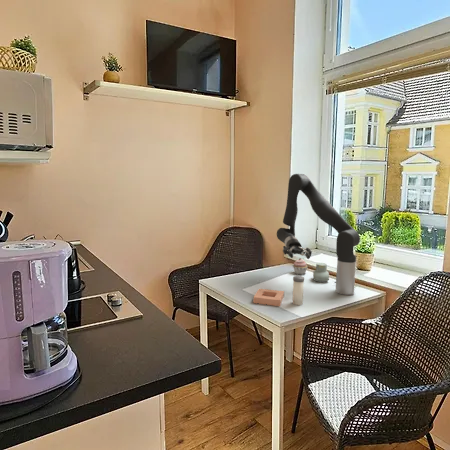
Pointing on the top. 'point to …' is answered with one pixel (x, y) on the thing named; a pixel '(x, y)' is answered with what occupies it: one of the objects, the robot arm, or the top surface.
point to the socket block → (269, 297)
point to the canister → (298, 290)
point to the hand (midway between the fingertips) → (300, 256)
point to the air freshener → (321, 273)
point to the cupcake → (300, 267)
